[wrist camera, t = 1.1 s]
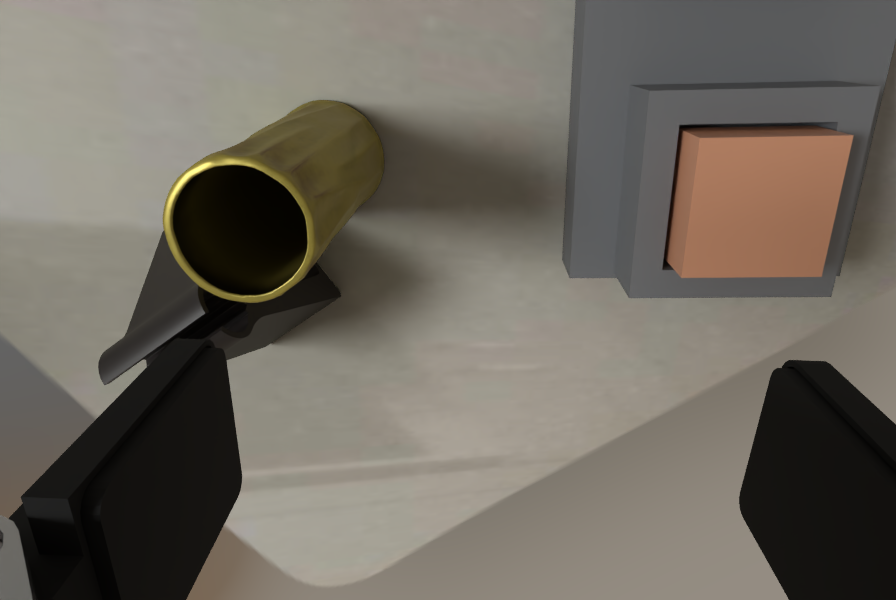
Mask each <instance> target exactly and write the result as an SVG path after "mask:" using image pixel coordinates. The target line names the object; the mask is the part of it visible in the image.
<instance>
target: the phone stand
mask: <svg viewBox="0 0 896 600" xmlns="http://www.w3.org/2000/svg"><path fill="white" fill-rule="evenodd" d="M340 296H341V293H340V291H339V290H338V288H337V287H336V286H335V285H334V284H333V282H332V281H331V280H330V279H329V277H328V276H327V275H326V274H325V273H324V271H323V270H322V269H321V268H320V266H319V265H318V264H317V263H315V264H314V265H313V266H312V268H311V269H310V270H309V272H308V273H307V275H306V276H305V277H304V278H303V279H302V280H301V281H299V282H298V283H297V284H295V285H294V286H293V287H292V288H290V289H289V290H287V291H286V292H285V293H283V294H282V295H281V296H278V297H276V298H274V299H271V300H267V301H263V302H258V303H247V302H239V301H232V300H227V299H224V298H221V297H218V296H216V295H214V294H212V293H210V292H208V291H206V290H205V289H203V288H202V287H200V286H199V285H197V284H196V283H195V282H194V281H193V280H192V279H191V278H190V277H189V276H188V275H187V274H186V273H185V272H184V270H183V269H182V268H181V267H180V265H179V264H178V262H177V261H176V259H175V258H174V256H173V254H172V252H171V250H170V247H169V245H168V242H167V239H166V235H165V231H163V233H162V235H161V238H160V241H159V244H158V247H157V249H156V252H155V255H154V258H153V260H152V263H151V266H150V269H149V272H148V274H147V277H146V280H145V283H144V285H143V288H142V291H141V294H140V297H139V299H138V302H137V305H136V308H135V310H134V313H133V316H132V319H131V322H130V324H129V327H128V330H127V332H126V334H125V336H124V337H123V338H122V339H121V340H120V341H118V342H117V343H115V344H114V345H113V346H111V347H110V348H109V349H107V350H106V351H105V352H104V353H103V354H102V355H101V357H100V360H99V365H98V368H99V374H100V378H101V380H102V382H103V384H104V385H106V384H109V383H110V382H112V381H113V380H115V379H116V378H117V377H119V376H120V375H122V374H123V373H124V372H126V371H127V370H129V369H130V368H132V367H133V366H134V365H136V364H137V363H139V362H140V361H141V360H143V359H145V360H146V362H147V367H148V366H149V365H150V364H151V363H152V362H153V361H154V360H155V358H156V357H157V356H158V355H159V354H160V353H161V352H162V351H163V350H164V349H165V348H166V347H167V346H168V345H169V344H170V343H171V342H172V341H173V340H175V339H176V338H181V339H209V340H211V341H213V343H214V345H215V348H222V349H223V350H224V352H225V356H226V360H229V359H232V358H234V357H237V356H240V355H243V354H246V353H249V352H252V351H255V350H257V349H260V348H263V347H266V346H267V345H269V344H270V343H272V342H273V341H275V340H276V339H278V338H279V337H281V336H282V335H284V334H285V333H287V332H288V331H290V330H291V329H293V328H294V327H296V326H297V325H299V324H300V323H302V322H303V321H305V320H306V319H308V318H309V317H311V316H312V315H314V314H315V313H317V312H318V311H320V310H321V309H323V308H324V307H326V306H327V305H329V304H330V303H332V302H333V301H335V300H336V299H337V298H339V297H340Z"/></svg>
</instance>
